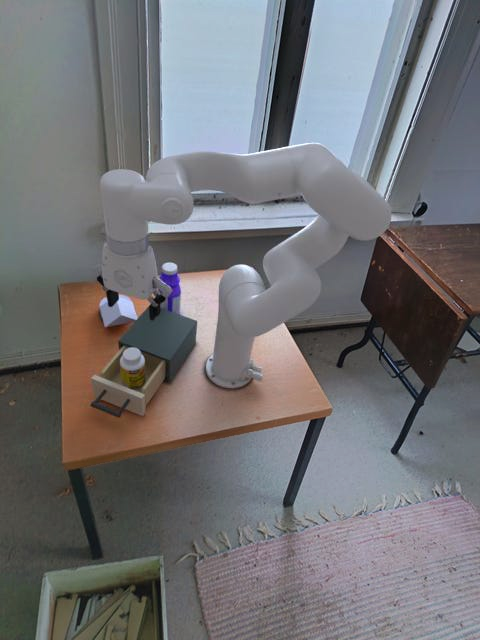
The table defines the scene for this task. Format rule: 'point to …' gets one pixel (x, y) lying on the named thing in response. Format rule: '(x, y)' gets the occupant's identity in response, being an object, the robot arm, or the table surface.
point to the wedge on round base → (118, 311)
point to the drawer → (124, 397)
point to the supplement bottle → (132, 369)
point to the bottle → (172, 281)
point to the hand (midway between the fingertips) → (134, 309)
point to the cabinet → (162, 338)
